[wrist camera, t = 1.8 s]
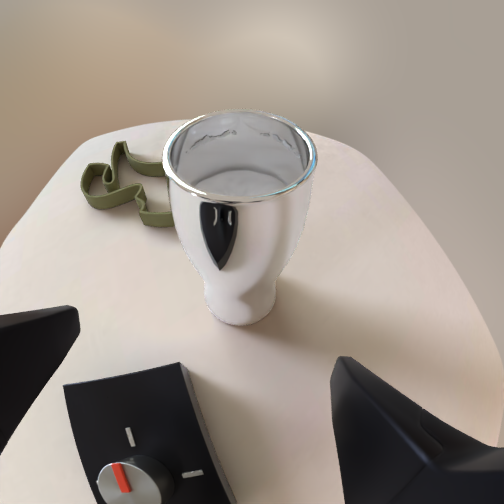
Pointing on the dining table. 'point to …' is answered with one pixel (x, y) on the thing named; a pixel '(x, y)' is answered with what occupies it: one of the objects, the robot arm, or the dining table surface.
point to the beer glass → (239, 204)
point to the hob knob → (136, 481)
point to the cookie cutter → (126, 193)
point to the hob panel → (148, 430)
